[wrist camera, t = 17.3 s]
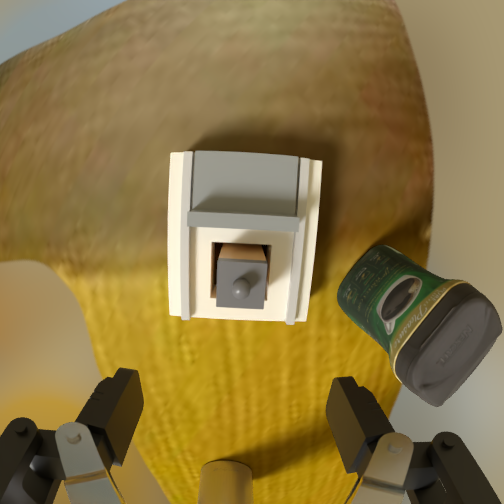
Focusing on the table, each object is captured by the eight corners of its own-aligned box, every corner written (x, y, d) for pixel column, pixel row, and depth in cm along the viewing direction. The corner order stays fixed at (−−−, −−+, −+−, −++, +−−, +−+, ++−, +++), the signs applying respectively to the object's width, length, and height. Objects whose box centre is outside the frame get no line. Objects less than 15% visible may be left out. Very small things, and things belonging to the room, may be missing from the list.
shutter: (291, 226, 26) (298, 232, 23) (193, 221, 26) (186, 226, 23) (296, 157, 25) (304, 153, 22) (196, 151, 24) (190, 147, 21)
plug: (258, 279, 32) (264, 315, 23) (222, 277, 31) (214, 312, 23) (261, 244, 31) (268, 267, 22) (223, 241, 31) (216, 264, 22)
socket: (298, 306, 33) (307, 324, 28) (177, 300, 32) (168, 318, 27) (311, 164, 29) (324, 160, 24) (179, 156, 28) (168, 151, 24)
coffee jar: (365, 329, 34) (440, 425, 16) (324, 294, 32) (398, 397, 14) (413, 272, 32) (517, 335, 14) (378, 231, 31) (494, 280, 13)
